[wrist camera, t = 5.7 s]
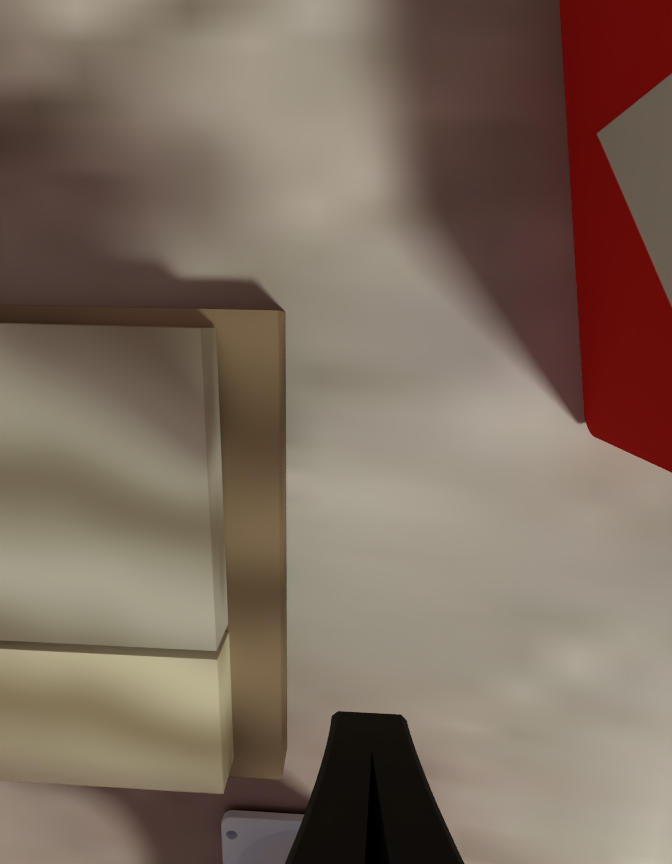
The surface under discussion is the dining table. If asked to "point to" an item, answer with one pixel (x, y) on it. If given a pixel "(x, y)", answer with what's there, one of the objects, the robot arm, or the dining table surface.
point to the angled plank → (111, 486)
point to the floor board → (239, 503)
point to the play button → (622, 215)
